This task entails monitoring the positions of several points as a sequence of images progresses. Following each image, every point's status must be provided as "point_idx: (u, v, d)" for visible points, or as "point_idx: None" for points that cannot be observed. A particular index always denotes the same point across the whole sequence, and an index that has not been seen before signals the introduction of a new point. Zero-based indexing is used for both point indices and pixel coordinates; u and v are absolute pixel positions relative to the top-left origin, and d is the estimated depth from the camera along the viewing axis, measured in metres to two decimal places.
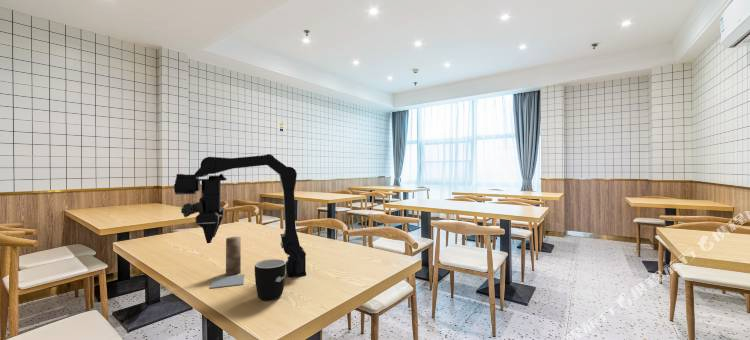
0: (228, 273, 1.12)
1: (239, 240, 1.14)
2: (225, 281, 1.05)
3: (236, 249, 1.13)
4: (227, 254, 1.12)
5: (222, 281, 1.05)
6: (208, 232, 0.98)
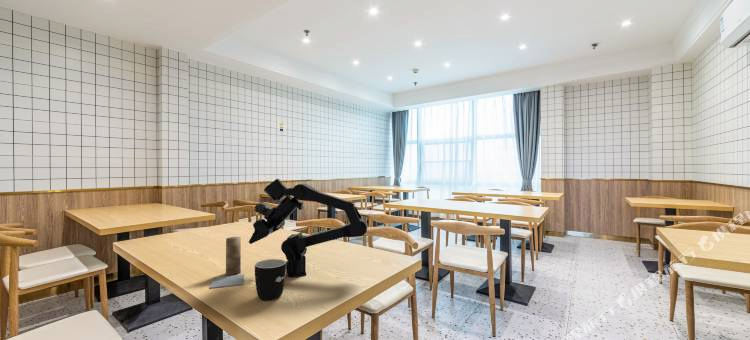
0: (228, 273, 1.12)
1: (239, 240, 1.14)
2: (225, 281, 1.05)
3: (236, 249, 1.13)
4: (227, 254, 1.12)
5: (222, 281, 1.05)
6: (255, 236, 1.08)
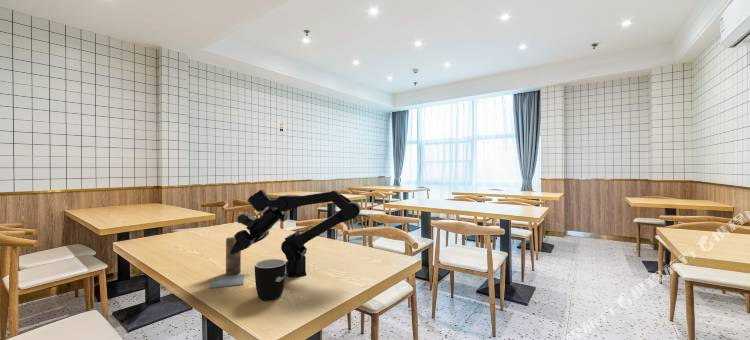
0: (228, 273, 1.12)
1: None
2: (225, 281, 1.05)
3: None
4: (227, 254, 1.12)
5: (222, 281, 1.05)
6: (236, 247, 1.08)
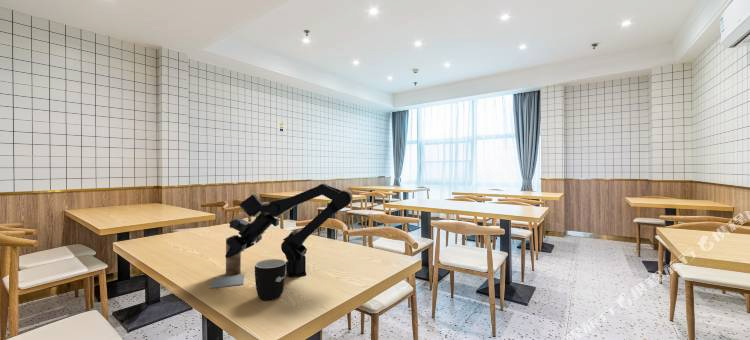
0: (228, 273, 1.12)
1: None
2: (225, 281, 1.05)
3: None
4: None
5: (222, 281, 1.05)
6: (231, 251, 1.10)
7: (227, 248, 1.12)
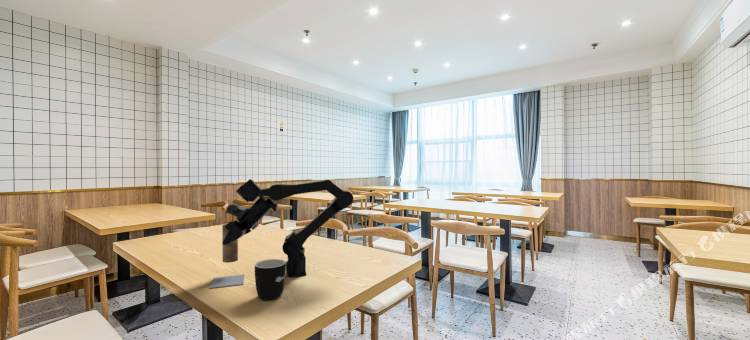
0: (225, 260, 1.08)
1: None
2: (225, 281, 1.05)
3: None
4: None
5: (222, 281, 1.05)
6: (229, 237, 1.07)
7: (224, 234, 1.08)
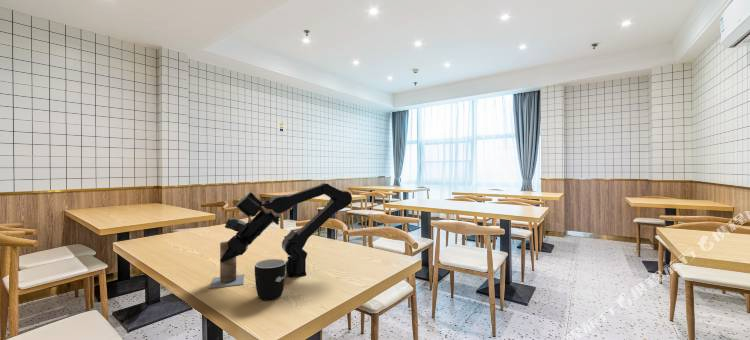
0: (224, 281, 1.03)
1: None
2: None
3: None
4: None
5: None
6: (228, 254, 1.01)
7: (223, 253, 1.03)
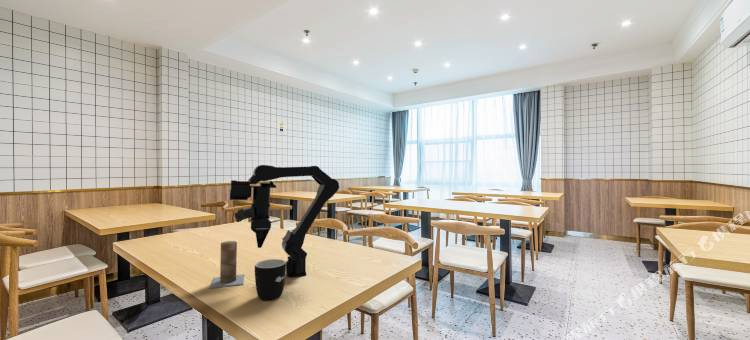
0: (224, 281, 1.03)
1: (236, 244, 1.06)
2: None
3: (233, 255, 1.04)
4: (223, 260, 1.03)
5: None
6: (260, 237, 1.03)
7: (223, 254, 1.03)
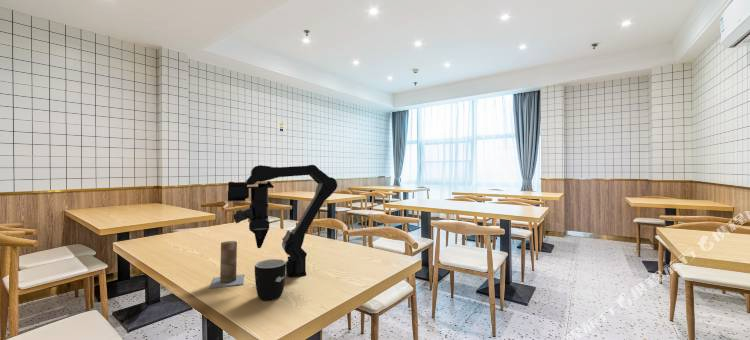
0: (224, 281, 1.03)
1: (236, 244, 1.06)
2: None
3: (233, 254, 1.05)
4: (223, 260, 1.03)
5: None
6: (259, 237, 1.03)
7: (223, 253, 1.03)
